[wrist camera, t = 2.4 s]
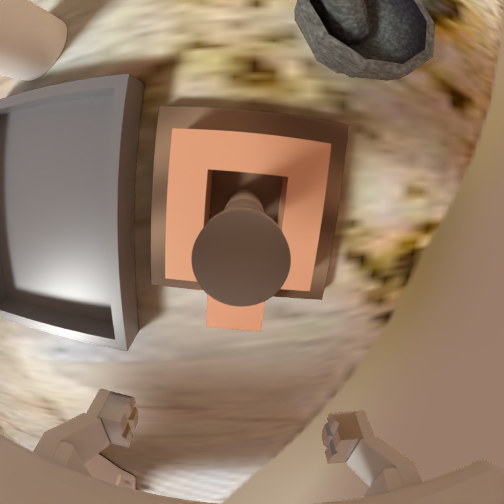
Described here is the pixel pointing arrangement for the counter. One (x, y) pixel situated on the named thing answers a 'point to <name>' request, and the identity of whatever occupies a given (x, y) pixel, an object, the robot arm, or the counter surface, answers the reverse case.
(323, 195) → the ring
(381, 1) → the mortar and pestle
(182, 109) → the stake stand
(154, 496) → the robot arm
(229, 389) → the counter surface
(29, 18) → the cylindrical container
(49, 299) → the tray
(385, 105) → the counter surface
